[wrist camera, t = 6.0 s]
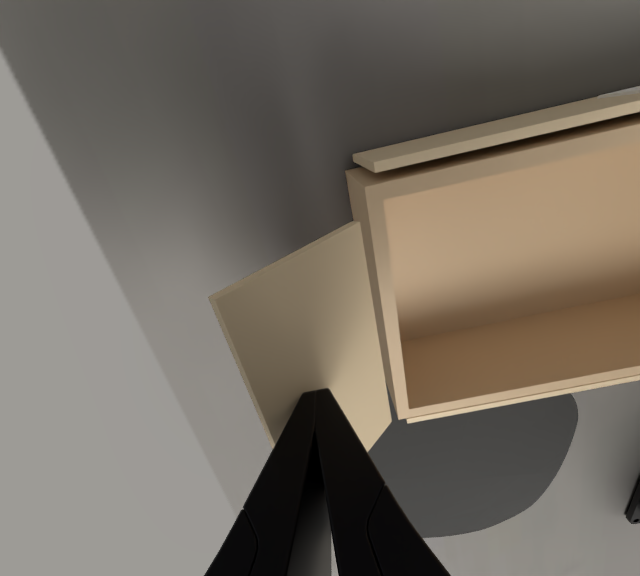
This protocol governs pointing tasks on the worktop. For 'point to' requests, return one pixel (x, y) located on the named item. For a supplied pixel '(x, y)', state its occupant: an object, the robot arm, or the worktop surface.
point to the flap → (309, 334)
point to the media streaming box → (474, 463)
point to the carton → (506, 257)
